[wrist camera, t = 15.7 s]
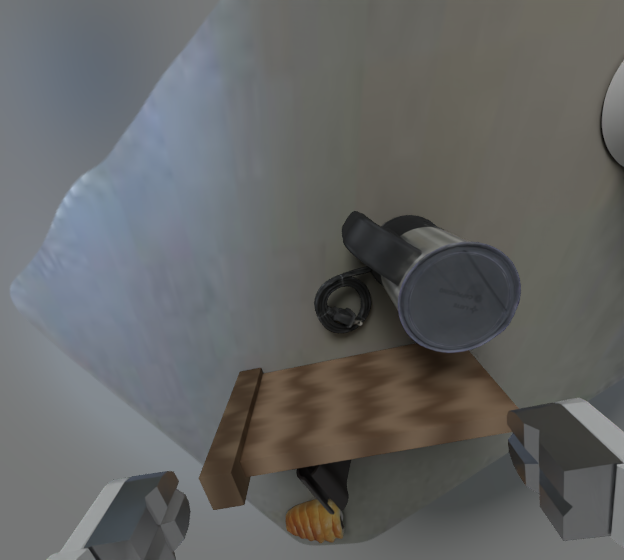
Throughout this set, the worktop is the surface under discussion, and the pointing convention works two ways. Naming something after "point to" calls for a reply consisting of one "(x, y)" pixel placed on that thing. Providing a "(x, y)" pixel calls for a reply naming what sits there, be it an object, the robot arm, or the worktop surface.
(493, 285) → the milk frother
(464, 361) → the door panel
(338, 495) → the phone stand
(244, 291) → the worktop surface
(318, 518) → the pastry
